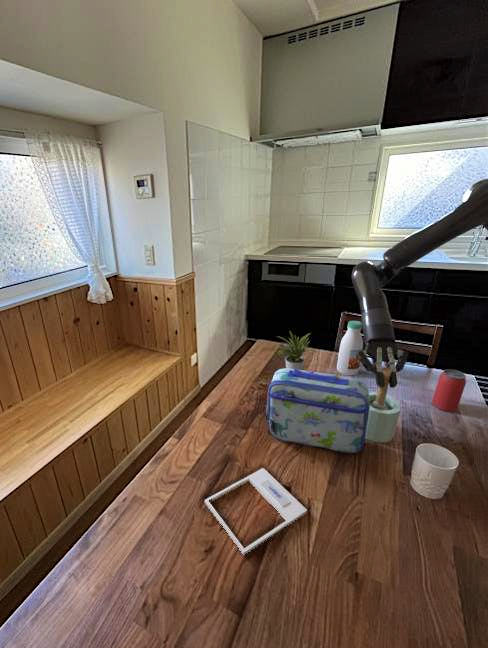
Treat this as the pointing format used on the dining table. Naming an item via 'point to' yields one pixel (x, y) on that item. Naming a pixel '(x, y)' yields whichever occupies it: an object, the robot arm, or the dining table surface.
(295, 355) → the house plant
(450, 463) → the white cup
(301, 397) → the lunch box
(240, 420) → the dining table surface
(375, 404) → the brush
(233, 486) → the photo frame
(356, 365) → the milk bottle
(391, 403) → the jar
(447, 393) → the beer can
